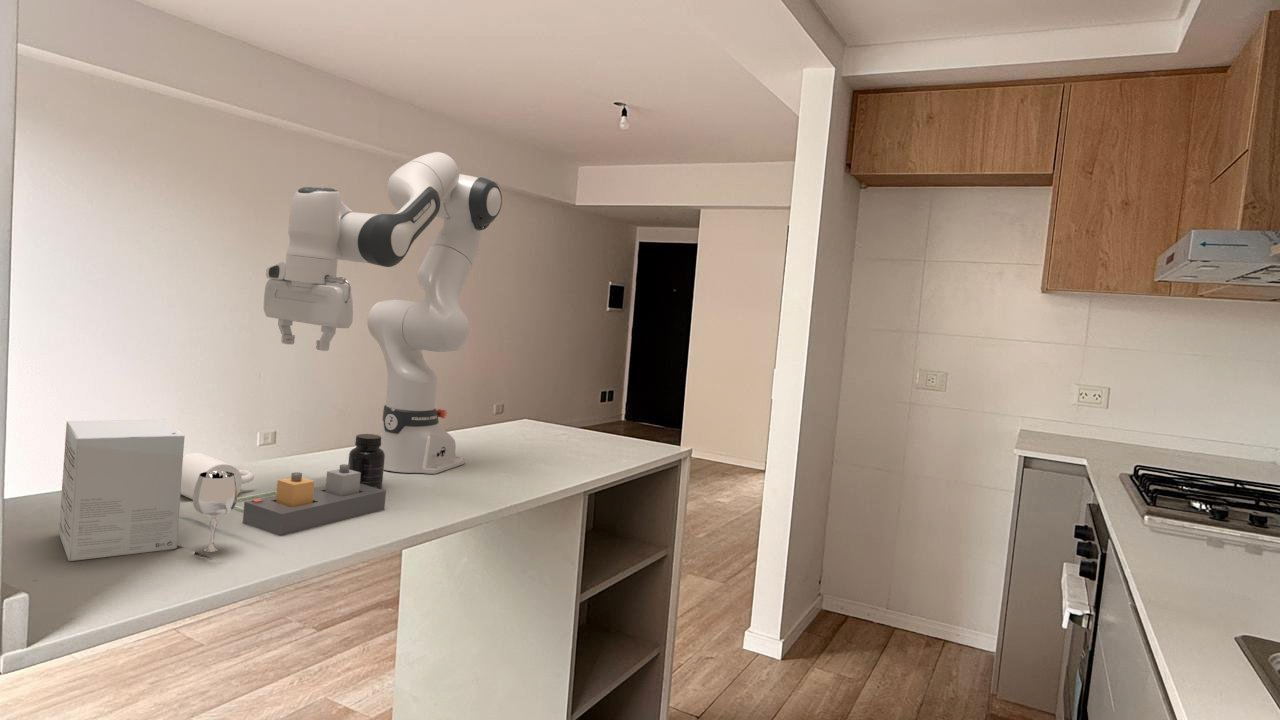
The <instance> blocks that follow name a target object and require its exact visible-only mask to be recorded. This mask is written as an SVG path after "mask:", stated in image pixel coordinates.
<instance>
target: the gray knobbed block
mask: <svg viewBox="0 0 1280 720" xmlns="http://www.w3.org/2000/svg"><path fill="white" fill-rule="evenodd" d="M360 477H361V472H357V471H353V470H350V469H349V465H348V464H346V463H343V464H340V465H339V469H333V470H328V471H326V480H325V486H326V490H325V492H327V493H330V494H334V495H337V496H340V497H342V496H347V495H352V494H356V493H359V488H360Z"/></svg>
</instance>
